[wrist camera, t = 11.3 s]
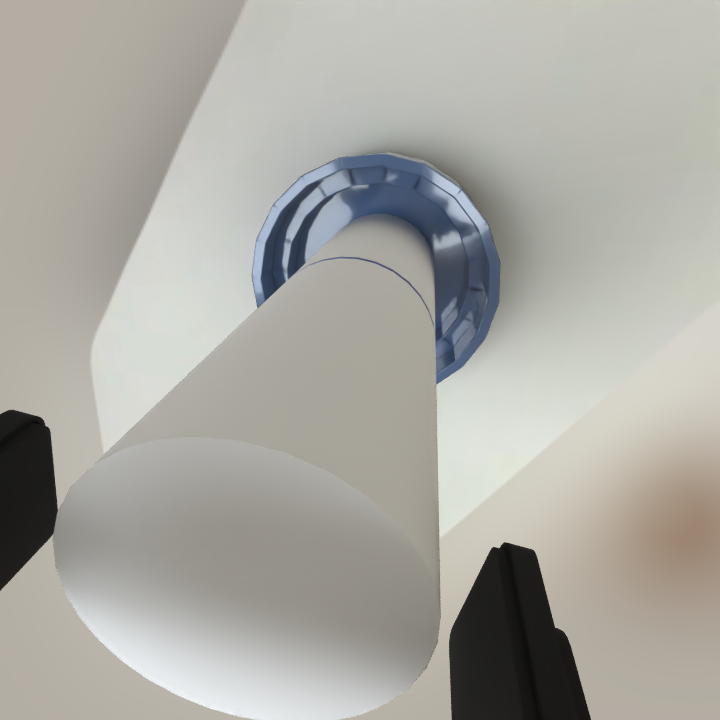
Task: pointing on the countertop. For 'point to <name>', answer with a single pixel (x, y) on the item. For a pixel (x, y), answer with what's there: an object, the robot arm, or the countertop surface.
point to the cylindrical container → (280, 499)
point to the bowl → (409, 202)
